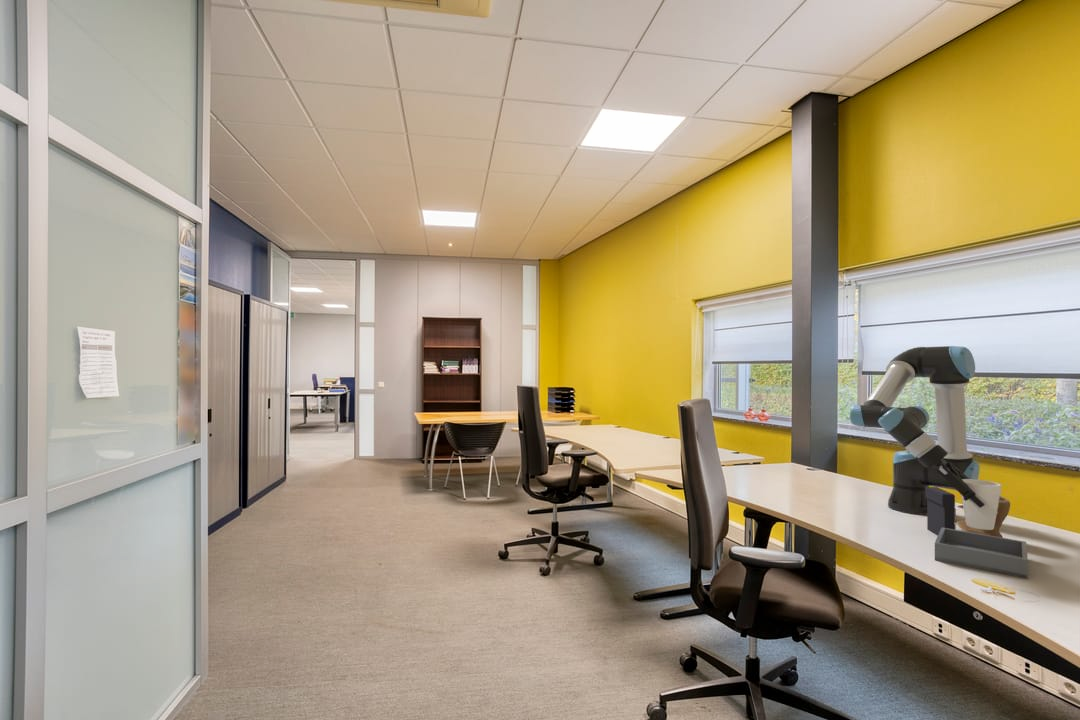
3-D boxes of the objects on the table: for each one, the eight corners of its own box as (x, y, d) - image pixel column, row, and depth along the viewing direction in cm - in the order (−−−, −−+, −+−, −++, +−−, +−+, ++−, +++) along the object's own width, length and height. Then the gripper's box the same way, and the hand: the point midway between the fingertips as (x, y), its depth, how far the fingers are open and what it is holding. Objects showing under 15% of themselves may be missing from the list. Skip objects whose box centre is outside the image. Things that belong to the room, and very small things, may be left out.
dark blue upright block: (957, 540, 171) (957, 494, 171) (942, 539, 171) (942, 494, 172) (939, 530, 181) (939, 487, 181) (925, 529, 182) (925, 486, 182)
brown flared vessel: (1015, 547, 165) (1015, 499, 165) (968, 541, 170) (968, 495, 170) (999, 533, 178) (999, 489, 178) (956, 528, 184) (956, 485, 184)
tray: (941, 542, 168) (941, 527, 168) (1026, 558, 155) (1026, 541, 155) (934, 559, 154) (934, 542, 154) (1027, 579, 140) (1027, 560, 140)
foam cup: (1009, 532, 149) (1009, 486, 149) (972, 530, 150) (973, 485, 150) (986, 522, 158) (986, 479, 158) (952, 520, 159) (952, 478, 160)
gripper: (920, 454, 173) (983, 511, 162) (911, 463, 156) (980, 527, 146) (941, 439, 169) (1006, 497, 158) (933, 447, 153) (1005, 512, 142)
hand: (993, 512), depth 152 cm, fingers closed on foam cup, 9 cm apart
